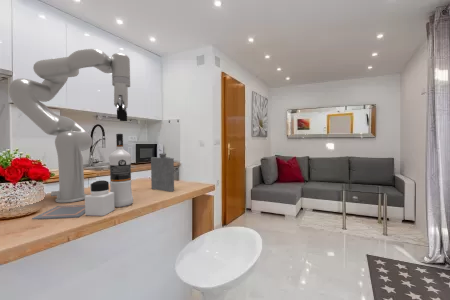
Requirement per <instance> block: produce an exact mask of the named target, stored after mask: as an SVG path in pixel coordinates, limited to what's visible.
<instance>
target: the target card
mask: <svg viewBox="0 0 450 300" xmlns="http://www.w3.org/2000/svg"><path fill="white" fill-rule="evenodd" d="M83 215H85V204H74V205H72V204H71V205H57V206H54V207H53V208H50V209H48V210H46V211H44V212H42V213H41V214H38V215H36V216H33V217H32V218H31V220H32V219H38V220H52V219H53V220H54V219H55V220H57V219H74V218H76V219H77V218H80V217H82V216H83Z"/></svg>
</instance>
